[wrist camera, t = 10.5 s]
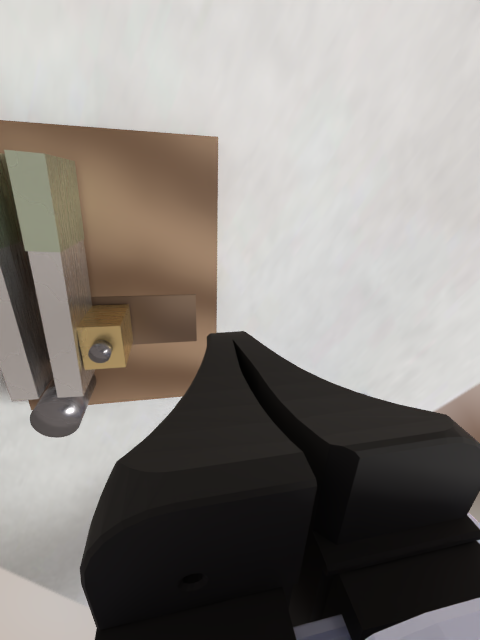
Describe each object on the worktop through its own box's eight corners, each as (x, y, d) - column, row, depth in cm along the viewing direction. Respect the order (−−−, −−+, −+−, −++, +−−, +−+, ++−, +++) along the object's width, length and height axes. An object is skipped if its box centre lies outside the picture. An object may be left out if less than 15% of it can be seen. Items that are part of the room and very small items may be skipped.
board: (214, 383, 23) (215, 393, 21) (39, 398, 20) (31, 410, 19) (215, 140, 16) (218, 136, 15) (-42, 121, 14) (-61, 115, 13)
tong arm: (100, 360, 18) (84, 397, 15) (77, 361, 18) (56, 398, 15) (74, 160, 14) (44, 153, 11) (44, 158, 14) (3, 149, 11)
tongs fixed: (99, 394, 20) (82, 438, 16) (51, 398, 19) (23, 445, 16) (55, 158, 14) (15, 149, 11) (-14, 154, 14) (-79, 143, 10)
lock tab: (133, 340, 18) (124, 373, 15) (98, 342, 18) (81, 376, 15) (128, 304, 17) (118, 331, 14) (91, 305, 17) (72, 333, 14)
